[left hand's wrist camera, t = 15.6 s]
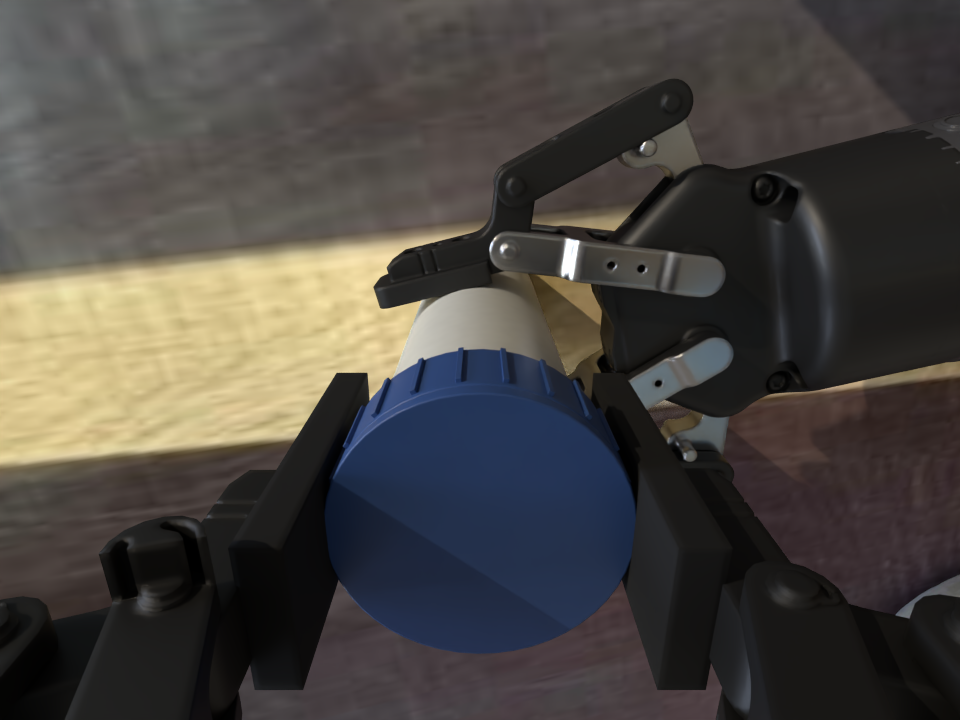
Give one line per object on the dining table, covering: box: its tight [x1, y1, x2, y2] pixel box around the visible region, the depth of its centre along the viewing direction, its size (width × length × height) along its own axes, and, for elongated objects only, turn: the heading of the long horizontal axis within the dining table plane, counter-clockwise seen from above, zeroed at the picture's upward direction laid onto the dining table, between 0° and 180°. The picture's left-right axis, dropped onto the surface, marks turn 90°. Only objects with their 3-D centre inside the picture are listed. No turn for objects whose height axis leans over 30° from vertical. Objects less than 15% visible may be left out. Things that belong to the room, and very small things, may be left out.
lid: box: [324, 347, 636, 654], centre depth 11 cm, size 6×6×2 cm
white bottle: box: [394, 271, 567, 377], centre depth 18 cm, size 5×5×16 cm
